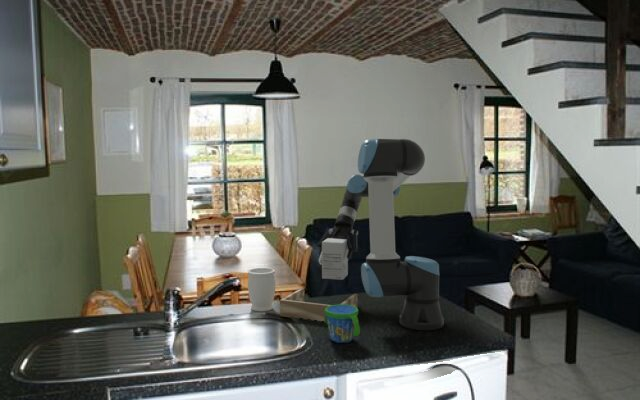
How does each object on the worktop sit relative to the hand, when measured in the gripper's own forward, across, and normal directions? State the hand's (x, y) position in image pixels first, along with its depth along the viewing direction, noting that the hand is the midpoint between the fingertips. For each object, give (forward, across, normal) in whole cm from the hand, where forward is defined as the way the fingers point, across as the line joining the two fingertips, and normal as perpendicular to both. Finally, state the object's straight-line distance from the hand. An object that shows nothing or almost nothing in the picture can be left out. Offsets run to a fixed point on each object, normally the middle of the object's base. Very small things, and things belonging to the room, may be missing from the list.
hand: (332, 263), depth 205 cm
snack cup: (+38, -18, +15) cm, 44 cm away
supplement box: (+2, 0, -6) cm, 7 cm away
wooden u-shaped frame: (+21, 0, -1) cm, 21 cm away
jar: (+24, +22, +1) cm, 33 cm away
